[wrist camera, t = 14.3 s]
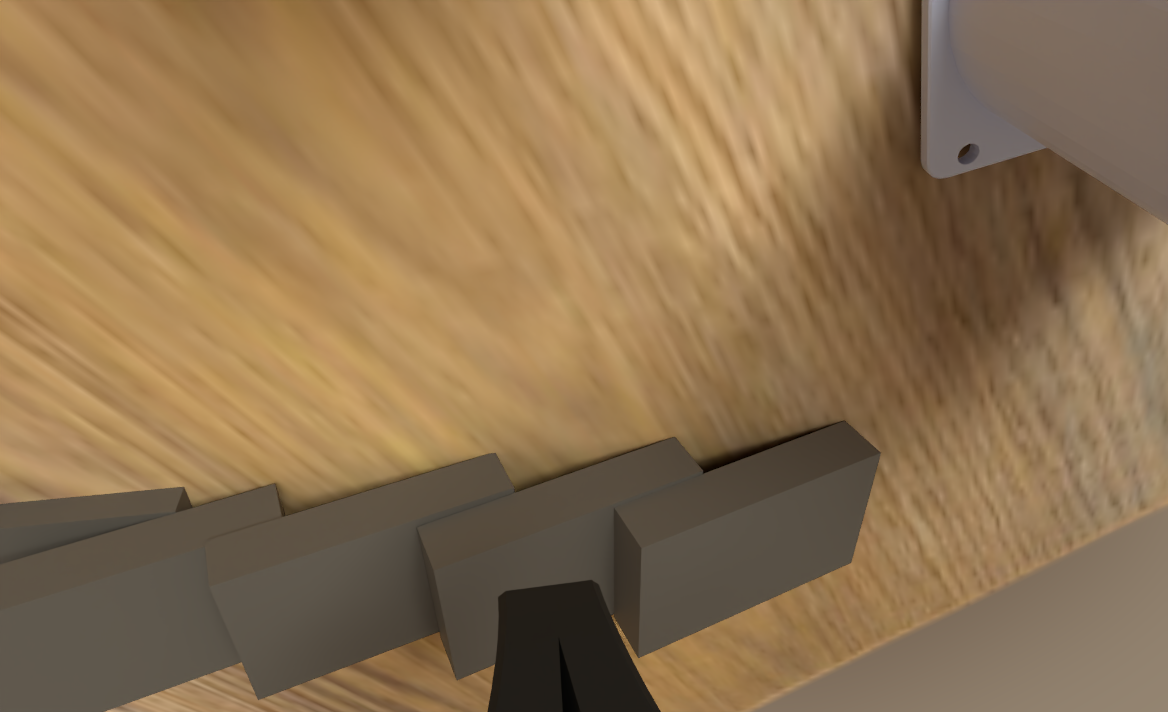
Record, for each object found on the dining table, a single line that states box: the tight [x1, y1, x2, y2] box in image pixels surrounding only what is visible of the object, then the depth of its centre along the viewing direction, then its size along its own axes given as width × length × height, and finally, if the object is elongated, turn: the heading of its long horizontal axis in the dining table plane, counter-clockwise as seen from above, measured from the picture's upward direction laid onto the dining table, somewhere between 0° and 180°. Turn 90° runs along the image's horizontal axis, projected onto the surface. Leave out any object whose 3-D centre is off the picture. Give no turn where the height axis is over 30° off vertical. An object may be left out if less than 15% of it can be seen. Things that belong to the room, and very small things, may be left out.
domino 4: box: [614, 421, 881, 658], centre depth 24 cm, size 2×5×8 cm
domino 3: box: [417, 437, 703, 680], centre depth 24 cm, size 2×5×8 cm
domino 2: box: [204, 453, 515, 700], centre depth 23 cm, size 2×5×8 cm
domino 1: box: [0, 484, 285, 712], centre depth 22 cm, size 2×5×8 cm
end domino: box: [0, 487, 192, 564], centre depth 24 cm, size 2×5×8 cm
